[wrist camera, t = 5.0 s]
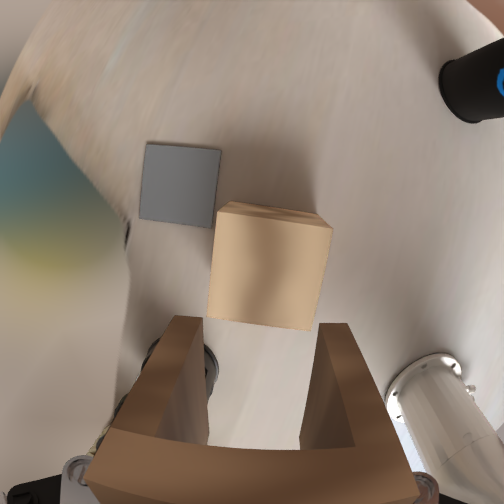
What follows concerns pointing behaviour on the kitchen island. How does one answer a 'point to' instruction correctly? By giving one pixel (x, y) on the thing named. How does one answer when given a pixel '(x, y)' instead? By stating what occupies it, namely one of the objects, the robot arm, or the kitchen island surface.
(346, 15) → the kitchen island surface
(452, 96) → the aerosol can
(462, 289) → the kitchen island surface
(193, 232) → the kitchen island surface
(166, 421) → the u-shaped wooden block
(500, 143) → the kitchen island surface
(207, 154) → the coaster
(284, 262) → the plinth
